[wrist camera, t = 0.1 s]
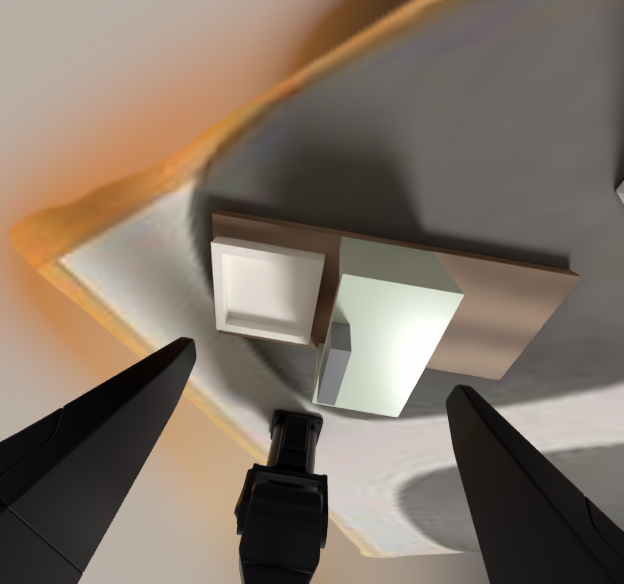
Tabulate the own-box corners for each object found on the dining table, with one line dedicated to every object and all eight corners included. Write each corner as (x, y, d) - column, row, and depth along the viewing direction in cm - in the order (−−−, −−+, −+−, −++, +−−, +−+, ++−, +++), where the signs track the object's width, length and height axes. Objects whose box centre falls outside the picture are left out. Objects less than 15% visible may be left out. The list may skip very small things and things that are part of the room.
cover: (386, 361, 27) (403, 447, 20) (317, 349, 27) (309, 431, 20) (433, 252, 20) (483, 320, 13) (342, 236, 20) (343, 296, 13)
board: (493, 370, 28) (499, 380, 27) (223, 324, 28) (218, 332, 27) (569, 269, 21) (581, 276, 20) (217, 209, 21) (211, 213, 20)
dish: (310, 334, 26) (308, 344, 25) (222, 319, 26) (216, 329, 25) (325, 254, 21) (324, 261, 20) (218, 235, 21) (210, 242, 20)
